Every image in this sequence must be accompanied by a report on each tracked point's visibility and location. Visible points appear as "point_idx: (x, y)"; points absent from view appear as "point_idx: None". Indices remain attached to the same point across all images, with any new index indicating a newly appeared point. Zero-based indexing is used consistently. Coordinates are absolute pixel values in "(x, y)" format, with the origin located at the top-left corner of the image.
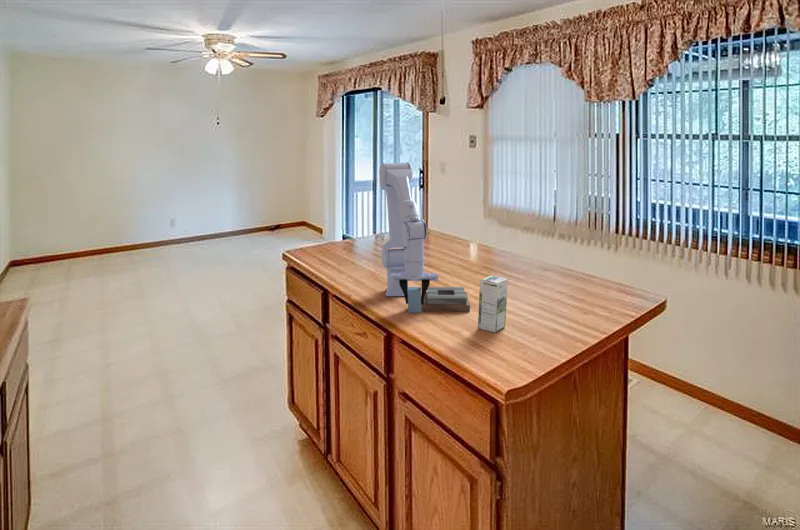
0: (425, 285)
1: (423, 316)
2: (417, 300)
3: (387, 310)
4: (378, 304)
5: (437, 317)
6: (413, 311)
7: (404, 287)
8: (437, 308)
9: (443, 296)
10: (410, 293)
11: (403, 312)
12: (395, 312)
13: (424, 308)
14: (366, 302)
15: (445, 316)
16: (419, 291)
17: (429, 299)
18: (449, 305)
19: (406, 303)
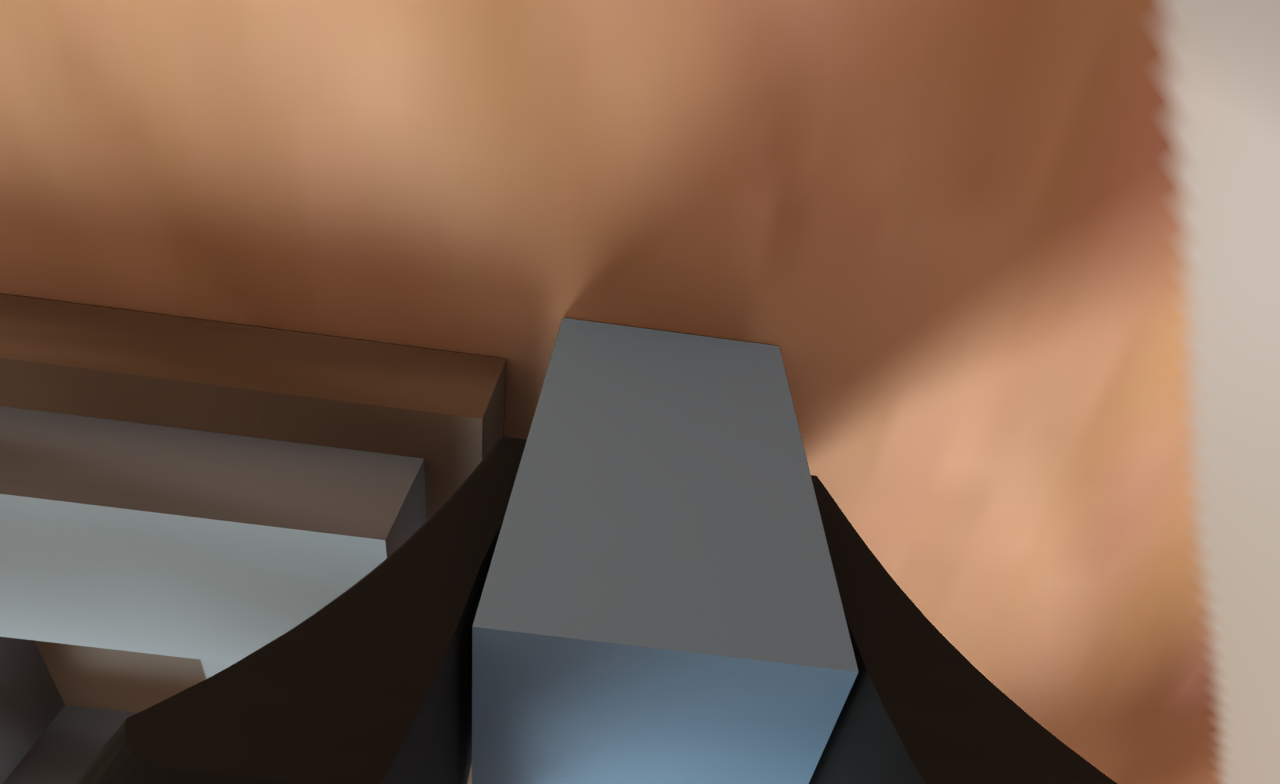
0: (233, 749)
1: (530, 118)
2: (603, 454)
3: (1072, 473)
4: (1097, 676)
5: (254, 21)
6: (688, 345)
7: (1005, 774)
8: (265, 358)
9: (80, 581)
10: (773, 600)
11: (851, 363)
12: (981, 379)
13: (491, 384)
14: (1213, 742)
15: (106, 63)
16: (521, 615)
17: (355, 515)
18: (9, 358)
19: (814, 479)
